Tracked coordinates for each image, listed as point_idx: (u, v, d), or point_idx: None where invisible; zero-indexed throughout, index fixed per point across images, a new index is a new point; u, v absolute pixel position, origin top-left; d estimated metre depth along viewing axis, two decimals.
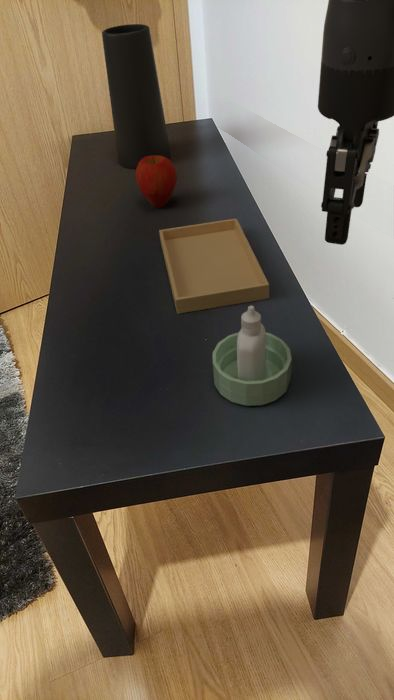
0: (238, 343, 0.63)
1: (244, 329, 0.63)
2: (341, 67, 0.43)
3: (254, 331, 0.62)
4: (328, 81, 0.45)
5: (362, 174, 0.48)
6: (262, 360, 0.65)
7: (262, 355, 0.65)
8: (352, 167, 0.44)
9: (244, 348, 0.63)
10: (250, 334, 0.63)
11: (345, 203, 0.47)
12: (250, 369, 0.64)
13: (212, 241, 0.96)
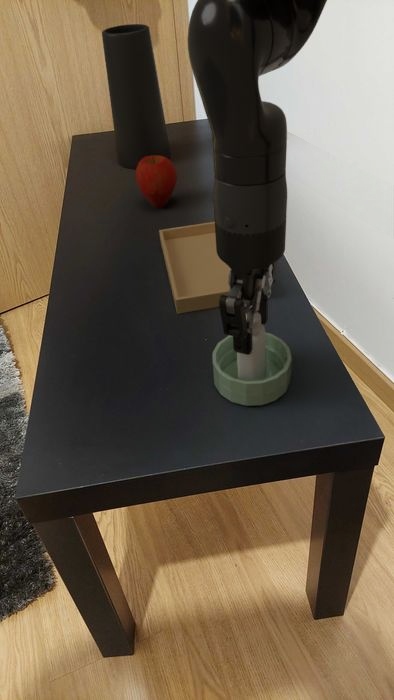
0: None
1: None
2: (226, 229, 0.51)
3: (254, 331, 0.62)
4: (218, 235, 0.53)
5: (255, 306, 0.57)
6: (262, 360, 0.65)
7: (262, 355, 0.65)
8: (240, 313, 0.54)
9: None
10: None
11: (241, 331, 0.56)
12: (250, 369, 0.64)
13: (212, 241, 0.96)
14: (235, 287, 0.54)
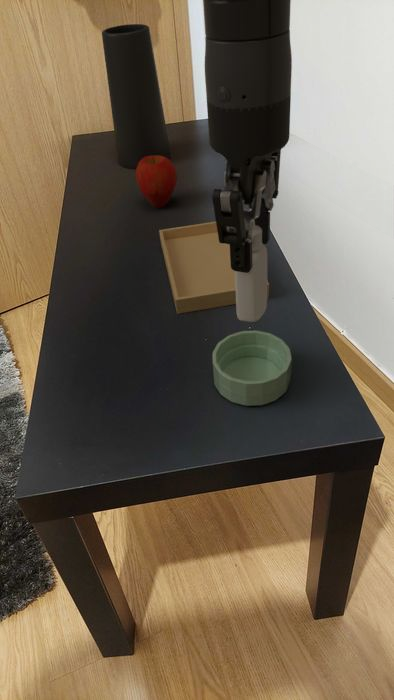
0: None
1: None
2: (220, 105, 0.44)
3: (254, 247, 0.55)
4: (211, 117, 0.45)
5: (255, 208, 0.49)
6: (263, 284, 0.58)
7: (263, 278, 0.57)
8: (237, 209, 0.46)
9: None
10: None
11: None
12: (250, 293, 0.56)
13: (212, 241, 0.96)
14: (231, 181, 0.47)
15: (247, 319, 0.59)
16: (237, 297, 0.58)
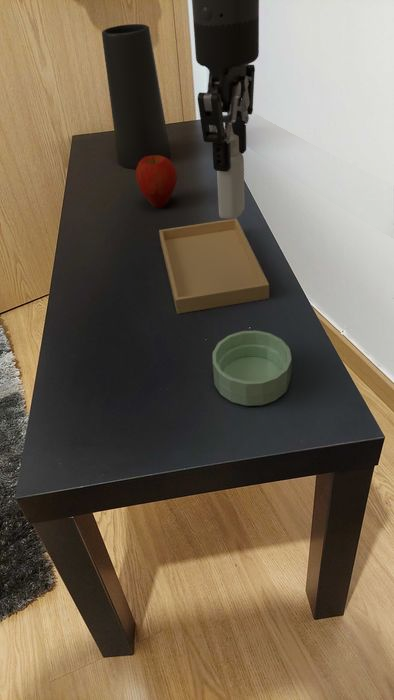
0: None
1: None
2: (203, 23, 0.56)
3: (233, 151, 0.67)
4: (197, 35, 0.58)
5: (232, 113, 0.62)
6: (240, 186, 0.70)
7: (240, 180, 0.70)
8: (216, 108, 0.59)
9: None
10: None
11: (218, 133, 0.61)
12: (229, 191, 0.69)
13: (212, 241, 0.96)
14: (212, 87, 0.59)
15: (227, 216, 0.72)
16: (219, 196, 0.70)
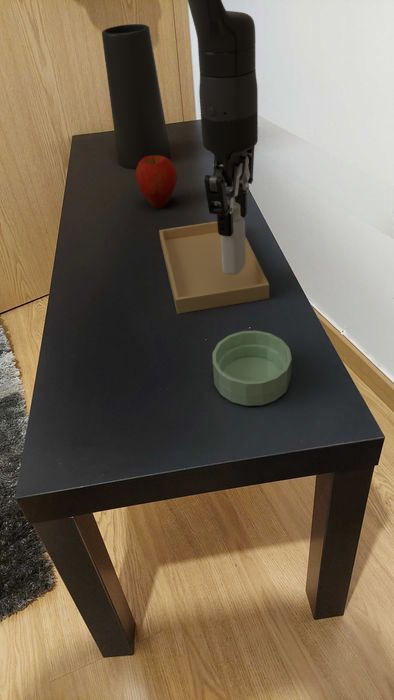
0: None
1: None
2: (209, 118, 0.65)
3: (235, 218, 0.76)
4: (204, 126, 0.67)
5: (234, 189, 0.71)
6: (242, 246, 0.79)
7: (242, 241, 0.78)
8: (221, 189, 0.67)
9: None
10: None
11: (222, 208, 0.70)
12: (232, 252, 0.78)
13: (212, 241, 0.96)
14: (217, 169, 0.68)
15: (230, 272, 0.81)
16: (223, 255, 0.79)
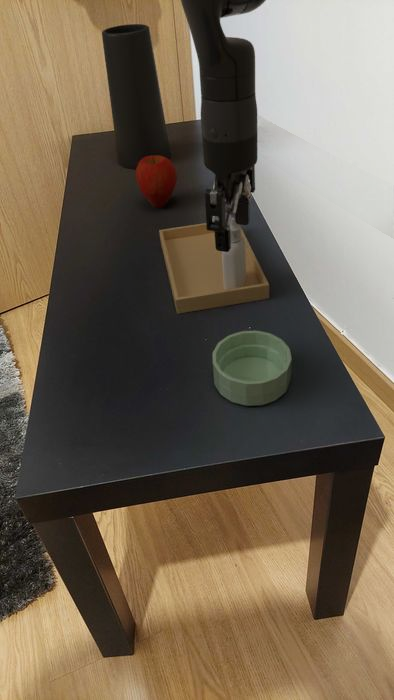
0: None
1: None
2: (210, 139, 0.67)
3: (236, 239, 0.78)
4: (205, 147, 0.69)
5: (233, 205, 0.72)
6: (242, 265, 0.81)
7: (242, 261, 0.81)
8: (220, 202, 0.69)
9: (227, 252, 0.79)
10: (232, 241, 0.79)
11: (220, 225, 0.71)
12: (233, 271, 0.80)
13: (212, 241, 0.96)
14: (218, 186, 0.70)
15: None
16: (224, 274, 0.82)
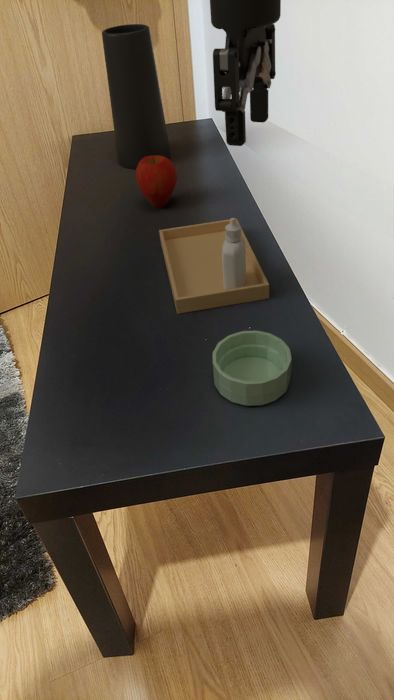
0: (223, 249, 0.79)
1: (227, 238, 0.79)
2: None
3: (236, 239, 0.78)
4: None
5: (249, 77, 0.56)
6: (242, 265, 0.81)
7: (242, 261, 0.81)
8: (233, 65, 0.52)
9: (227, 252, 0.79)
10: (232, 241, 0.79)
11: (232, 100, 0.54)
12: (233, 271, 0.80)
13: (212, 241, 0.96)
14: (230, 47, 0.54)
15: None
16: (224, 274, 0.82)
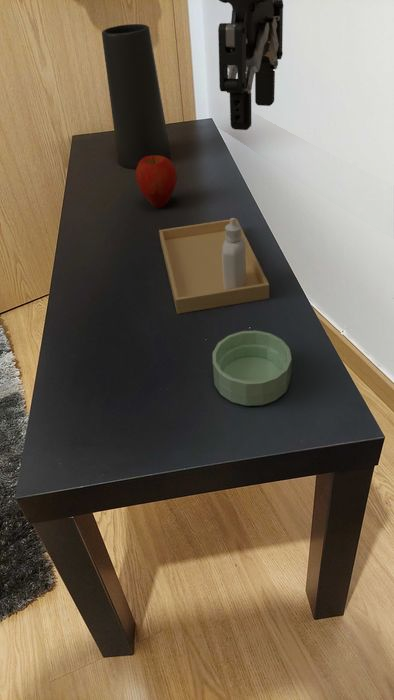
0: (223, 249, 0.79)
1: (227, 238, 0.79)
2: None
3: (236, 239, 0.78)
4: None
5: (257, 56, 0.52)
6: (242, 265, 0.81)
7: (242, 261, 0.81)
8: (240, 41, 0.49)
9: (227, 252, 0.79)
10: (232, 241, 0.79)
11: (238, 79, 0.51)
12: (233, 271, 0.80)
13: (212, 241, 0.96)
14: (237, 22, 0.50)
15: None
16: (224, 274, 0.82)
